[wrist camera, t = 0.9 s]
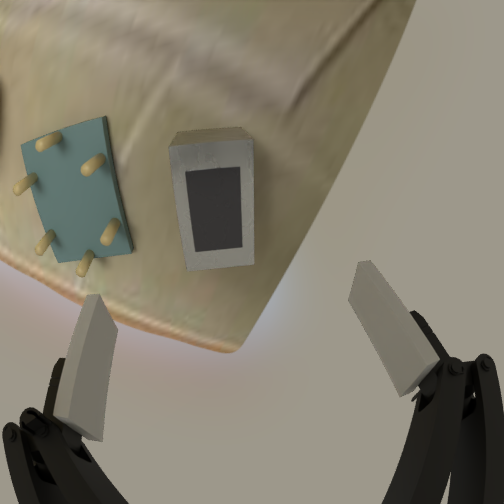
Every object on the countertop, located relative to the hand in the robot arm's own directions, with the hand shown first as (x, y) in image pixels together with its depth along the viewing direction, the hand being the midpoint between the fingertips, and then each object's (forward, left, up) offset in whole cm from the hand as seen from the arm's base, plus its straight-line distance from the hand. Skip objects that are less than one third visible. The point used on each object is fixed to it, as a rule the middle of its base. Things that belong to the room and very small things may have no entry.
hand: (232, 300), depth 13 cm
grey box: (0, 0, -17) cm, 17 cm away
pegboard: (-1, -15, -16) cm, 23 cm away
